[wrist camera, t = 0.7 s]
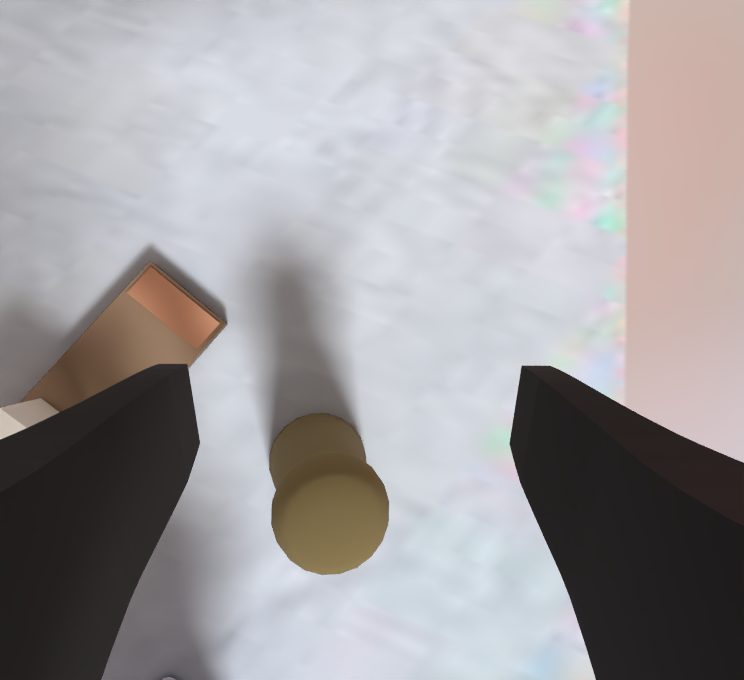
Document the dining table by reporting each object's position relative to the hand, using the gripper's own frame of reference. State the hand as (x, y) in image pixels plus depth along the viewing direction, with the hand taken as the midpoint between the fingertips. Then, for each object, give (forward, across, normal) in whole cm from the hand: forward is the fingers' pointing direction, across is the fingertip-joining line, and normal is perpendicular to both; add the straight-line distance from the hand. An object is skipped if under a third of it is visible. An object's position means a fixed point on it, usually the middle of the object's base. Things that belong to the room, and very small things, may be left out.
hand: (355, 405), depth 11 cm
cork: (+16, +3, +14) cm, 22 cm away
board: (+16, +15, +9) cm, 24 cm away
